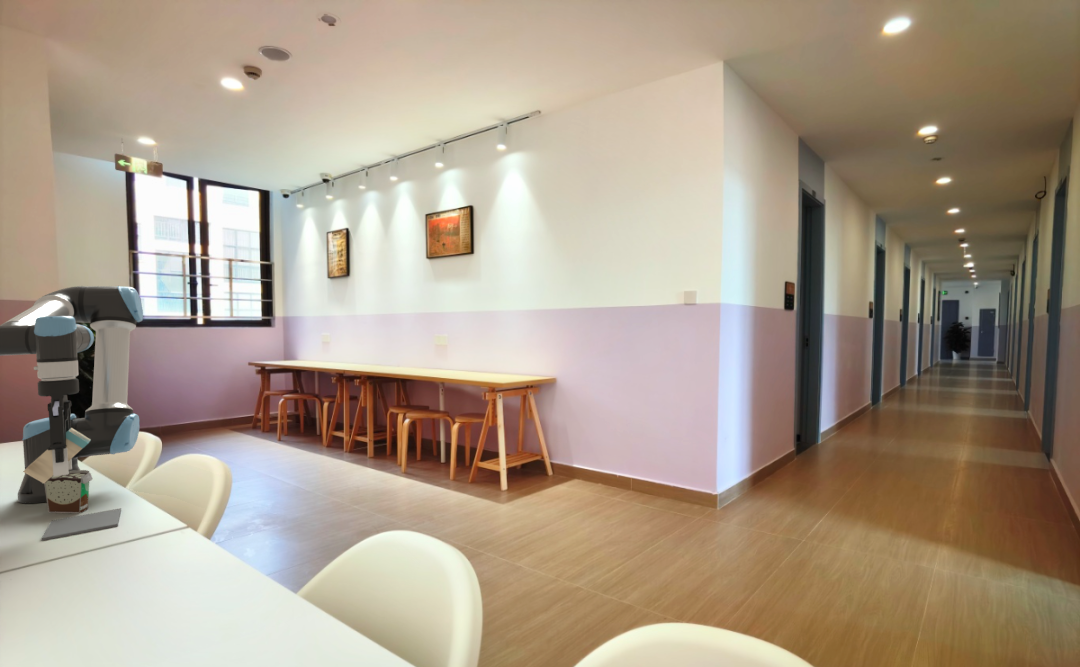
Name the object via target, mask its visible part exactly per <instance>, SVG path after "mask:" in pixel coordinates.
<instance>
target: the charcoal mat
mask: <svg viewBox="0 0 1080 667" xmlns="http://www.w3.org/2000/svg"><path fill="white" fill-rule="evenodd" d="M121 513H122V508H121V507H120V508H115V509H108V510H104V511H98V512H93V513H92V512H91V513H85V514H81V515H75V516H70V517H68V516H67V517H63V518H58V519H54V520H52V519H51V521H50V522H49V524H48V526H47V528H46V530H45V531H44V533H43V535H42V537H41V538H40V539H41V541H42V542H43V541H47V540H53V539H58V538H63V537H68V536H72V535H74V536H75V535H79V534H80V535H81V534H85V533H91V532H95V531H99V530H105V529H110V528H115V527H119V522H120V519H121V518H120V517H121Z"/></svg>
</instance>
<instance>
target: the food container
mask: <svg viewBox="0 0 1080 667" xmlns="http://www.w3.org/2000/svg"><path fill="white" fill-rule="evenodd" d="M92 480H93V476H92V473H91V472H90V470H87V469H80V470H74V471H69V474H68V475H61V476H54V477H53V476H52V477H51V478H50V479H48V480H47V481H46V482H45V483H44V485H45V492H46V499H47V502H46V506H47V511H48V514H49V513H51V514H81V513H83V512H86V511H87V510H88V508H89V495H90V494H89V492H90V482H91V481H92ZM42 484H43V483H42Z"/></svg>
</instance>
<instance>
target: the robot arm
mask: <svg viewBox="0 0 1080 667" xmlns="http://www.w3.org/2000/svg"><path fill="white" fill-rule="evenodd" d="M143 320H144V309H143V305H142V301H141V298H140V294H139V293H138V291H137V289H136V288H134V287H132V286H120V285H115V286H112V285H111V286H110V285H109V286H99V285H98V286H93V285H92V286H88V285H87V286H83V285H81V286H80V285H79V286H70V287H66V288H62V289H57V290H55V291H52V292H50V293H46V294H45V295H42V296H41V297H39V298H37V299H36V300H35V302H34V303H33V306H31V307H29V308H28V309H26V310H24V311H23V312H20V313H19V314H17V315H16V316H14V317H12V318H10V319H9V320H7V321H5V322H3V323H2V324H0V356H2V357H3V356H18V355H19V356H20V355H22V356H23V355H26V356H27V355H36V366H33V370H34V371H37V372H36V373H37V378H38V379H40V380H39V381H38V382H37V395H38V396H39V397H50V398H51V399H50V402H49V403H47V412H48V417H45V418H40V419H36V420H33V421H30V422H28V423H26V424H24V426H23V428H22V429H23V430H22V431H23V432H22V439H21V440H22V446H23V462H24V470H25V469H26V468H27V467H28V466H29V465H30V464H32V463H33V462H34V461H35V460H36V459H37V458H38V457H39V456H41V455H42V454H43V453H44V452H45V451H46V450H47V449H48V450H52V458H53V477H54V476H61V475H68V474H69V471H74V470H81V469H80V466H79V463H78V461H79V460H78V458H84V457H93V456H94V457H95V456H102V455H103V456H104V455H115V454H122V453H127V452H130V451H131V450H132V449H133V448H134V447H135V446H136V443H137V440H138V437H139V433H140V416H139V414H136V413H134V409H133V408H132V407H131V406H130V405H129V404H128V396H129V395H128V392H129V370H130V369H129V368H130V365H129V364H130V344H131V343H130V342H131V332H132V331H134V330H136V327H137V323H140V322H142V321H143ZM79 323H84V324H85V323H89V327H90V328H91V329H93V331H95V337H94V333H93V331H92V330H91V329H90V328H89V327H87V326H86V325H83V324H79ZM94 341H95V346H94V367H93V383H92V402H91V405H90V407H88V408H87V409H86V410H85V412H84V417H81V418H77V415H76V414H75V413H71V407H72V401H71V400H68V395H75V394H78V393H79V391H80V382H79V379H78V378H77V377H78V376H79V360H78V354H79V353H81V352H84V351H86V350H89V348H90V347H91V346H92V345H93V343H94ZM71 428H73V429H75V430H76V431H78V432H79V433H81V434H83V435H84V436H86V437H87V438H89V439H91V440H90V442H89V443H88V444H87V445H86V446H85V447H84V448H82V449H81V450H80V451H79V452H78V453H77V454H76V455H75V456H74V457H73V458H71V459H70V460H69V461H68V449H67V448H66V447H67V445H66V432H67V431H68V430H69V429H71ZM58 442H59V443H58ZM17 502H18V503H19V504H38V503H47V499H46V492H45V485H44V483H43V484H42V482H40V481H39V480H37V479H35V478H33V477H31V476H30V475H28V474H26V473H24V475H23V478H22V480H21V484H20V486H19V489H18V492H17Z"/></svg>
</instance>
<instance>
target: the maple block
mask: <svg viewBox="0 0 1080 667" xmlns="http://www.w3.org/2000/svg"><path fill="white" fill-rule="evenodd" d="M90 440H91V439H89V438H87V437H86V436H84V435H83V434H81V433H79V432H78V431H76V430H75V429H73V428H71V429H69V430H68V431H67V432H66V445H67V447H66V448H67V449H68V461H69V460H70V459H71V458H73V457H74V456H75V455H76V454H77V453H78V452H79V451H80V450H81V449H82V448H84V447H85V446H86V445H87V444H88V443H89V442H90ZM58 443H59V442H58ZM22 473H24V474H25V473H26V474H28V475H30V476H31V477H33V478H35V479H37V480H39V481H40V482H42V483H45V482H46V481H47V480H48V479H50V478H51V477H52V476H53V458H52V450H48V449H47V450H46V451H45V452H44V453H43V454H42V455H41V456H39V457H38V458H37V459H36V460H35V461H34V462H33V463H32V464H30V465H29V466H28V467H27V468H26V469H25V468H24V470H23V472H22Z"/></svg>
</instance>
